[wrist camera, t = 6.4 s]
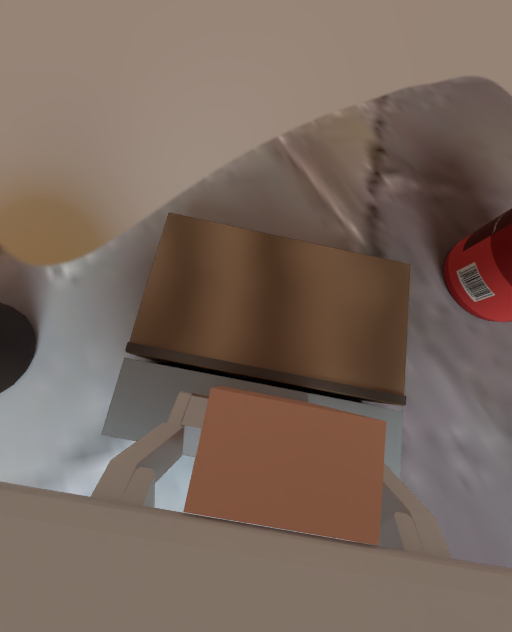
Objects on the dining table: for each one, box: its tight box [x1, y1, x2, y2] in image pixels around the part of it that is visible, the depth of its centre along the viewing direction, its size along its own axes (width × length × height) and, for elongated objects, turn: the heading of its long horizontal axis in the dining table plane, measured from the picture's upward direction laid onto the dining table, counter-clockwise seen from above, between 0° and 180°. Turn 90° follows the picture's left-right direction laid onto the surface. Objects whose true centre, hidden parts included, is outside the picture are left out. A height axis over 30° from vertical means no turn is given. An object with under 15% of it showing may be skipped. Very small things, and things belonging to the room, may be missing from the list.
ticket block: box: [125, 213, 410, 406], centre depth 19 cm, size 16×9×5 cm, turn 79°
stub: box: [101, 358, 403, 545], centre depth 13 cm, size 16×4×13 cm, turn 79°
